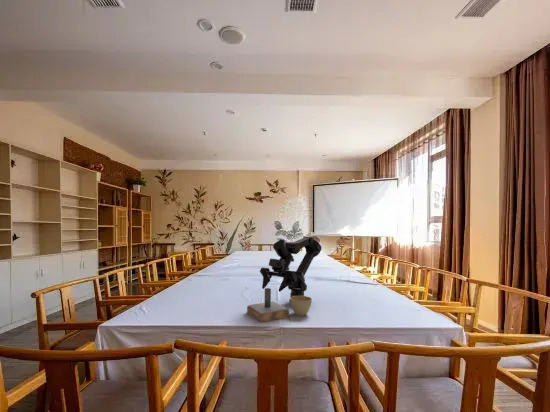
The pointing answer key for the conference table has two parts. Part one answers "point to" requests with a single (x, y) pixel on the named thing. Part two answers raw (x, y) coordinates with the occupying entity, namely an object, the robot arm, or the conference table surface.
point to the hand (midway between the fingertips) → (270, 289)
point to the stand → (267, 315)
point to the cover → (267, 304)
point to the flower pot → (300, 304)
